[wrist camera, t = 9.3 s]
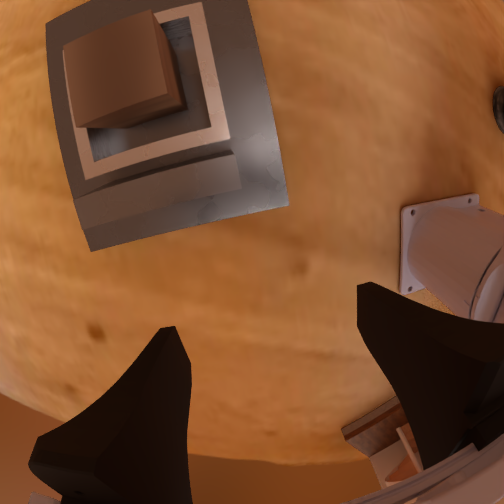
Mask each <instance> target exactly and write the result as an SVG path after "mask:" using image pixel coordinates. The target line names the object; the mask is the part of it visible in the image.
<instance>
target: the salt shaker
mask: <svg viewBox="0 0 504 504" xmlns="http://www.w3.org/2000/svg"><path fill="white" fill-rule="evenodd" d="M493 111H494V116H495V119H496V122H497V125H498V127H499V129H500V130H501V131H502V133H504V86H499V87H498V88H496V90H495V92H494V96H493Z"/></svg>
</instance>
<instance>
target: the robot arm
mask: <svg viewBox="0 0 504 504" xmlns="http://www.w3.org/2000/svg"><path fill="white" fill-rule="evenodd" d="M468 200H469V201H468ZM412 210H413V213H412V214H411V211H412ZM409 287H410V288H409ZM408 288H409V289H408ZM424 288H427V289H428V290H429V291H430V292H431V293H432V294H433V295H435V296H436V297H437V298H438V299H439V300H440V301H441V302H442V303H443V304H445V305H446V306H447V307H448V308H449V309H450V310H451V311H452V312H453V313H454V314H455V315H456V316H454V315H451V314H448V313H444V312H441V311H438V310H435V309H432V308H430V307H427V306H425V305H422V304H420V303H417V302H415V301H413V300H410V299H408V298H406V297H404V296H402V295H406V294H409V293H412V292H415V291H418V290H421V289H424ZM399 292H400V293H401V294H402V295H399V294H397V293H395V292H393V291H391V290H389V289H387V288H385V287H382V286H380V285H378V284H376V283H373V282H367V283H364V284H360V285H357V327H358V329H359V332H360V334H361V336H362V338H363V340H364V342H365V344H366V346H367V348H368V349H369V351H370V353H371V354H372V356H373V357H374V359H375V360H376V362H377V363H378V365H379V366H380V368H381V370H382V371H383V373H384V374H385V376H386V377H387V379H388V381H389V382H390V384H391V385H392V387H393V389H394V391H395V393H396V395H397V397H398V399H399V401H400V404H401V406H402V408H403V410H404V413H405V415H406V418H407V420H408V423H409V425H410V428H411V430H412V433H413V436H414V439H415V442H416V445H417V448H418V451H419V455H420V458H421V462H422V465H423V470H424V471H422V472H420V473H418V474H416V475H414V476H412V477H410V478H407V479H405V480H403V481H401V482H398V483H396V484H394V485H391V486H389V487H387V488H384V489H381V490H379V491H377V492H374V493H371V494H368V495H366V496H363V497H360V498H357V499H354V500H351V501H348V502H344V503H341V504H404V503H406V502H408V501H410V500H412V499H415V498H417V497H418V498H417V500H416V502H414V503H412V504H495V503H496V502H498V501H499V500H500V499H501V498H503V497H504V215H501V214H499V213H497V212H495V211H492V210H490V209H488V208H485V207H483V206H480V205H479V195H478V194H475V193H473V194H468V195H462V196H457V197H452V198H447V199H441V200H436V201H431V202H426V203H421V204H415V205H410V206H406V207H404V208H403V209H402V211H401V268H400V287H399ZM191 387H192V376H191V362H190V360H189V358H188V356H187V353H186V351H185V349H184V346H183V344H182V342H181V339H180V337H179V335H178V332H177V330H176V327H175V326H171V327H165V328H160V329H159V331H158V332H157V333H156V334H155V335H154V337H153V338H152V339H151V341H150V342H149V343H148V345H147V346H146V347H145V348H144V350H143V351H142V352H141V354H140V355H139V356H138V357H137V359H136V360H135V361H134V362H133V364H132V365H131V366H130V367H129V368H128V369H127V371H126V372H125V373H124V374H123V375H122V376H121V377H120V379H119V380H118V381H117V382H116V383H115V384H114V385H113V386H112V387H111V388H110V389H109V390H108V391H107V392H106V393H105V394H103V395H102V396H101V397H100V398H99V399H98V400H96V401H95V402H94V403H93V404H91V405H90V406H89V407H88V408H86V409H85V410H84V411H83V412H81V413H80V414H78V415H77V416H75V417H74V418H72V419H71V420H69V421H68V422H66V423H64V424H63V425H61V426H59V427H58V428H55V429H54V430H52V431H50V432H48V433H46V434H44V435H42V436H39V437H38V438H37V441H36V443H35V446H34V449H33V451H32V454H31V457H30V460H29V463H28V465H29V468H30V470H31V471H32V473H33V474H34V475H35V476H37V477H38V478H39V479H40V480H41V481H43V482H44V483H45V484H47V485H48V486H49V487H51V488H52V489H54V490H55V491H57V492H58V493H59V494H61V495H62V500H61V502H60V501H58V500H56V499H54V498H51V497H48V496H45V495H41V494H39V493H36V492H32V493H31V496H30V500H29V503H28V504H193V502H192V495H191V488H190V480H189V469H188V454H187V428H188V418H189V408H190V398H191Z"/></svg>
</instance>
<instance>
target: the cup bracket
mask: <svg viewBox="0 0 504 504" xmlns="http://www.w3.org/2000/svg"><path fill="white" fill-rule="evenodd" d="M150 9H151V10H152V12H153V14H154V16H155V17H156V19H157V21H158V22H159V24H160V26H161V28H162V29H163V31H164V33H165V35H166V36H167V38H168V40H169V42H170V43H171V45H172V47H173V49H174V50H175V52H176V57H177V61H178V66H179V71H180V75H181V80H182V84H183V89H184V93H185V98H186V102H187V106H188V110H185V111H182V112H178V113H175V114H171V115H168V116H164V117H161V118H158V119H155V120H152V121H148V122H145V123H142V124H139V125H136V126H134V127H131V128H128V129H119V128H76V125H75V121H74V116H73V110H72V105H71V100H70V94H69V88H68V81H67V74H66V67H65V58H64V49H63V46H64V45H66V44H68V43H70V42H72V41H74V40H76V39H78V38H80V37H82V36H84V35H86V34H88V33H90V32H93V31H95V30H97V29H99V28H102V27H104V26H106V25H109V24H111V23H114V22H116V21H119V20H121V19H124V18H126V17H129V16H132V15H135V14H138V13H141V12H144V11H147V10H150ZM46 50H47V64H48V75H49V84H50V92H51V99H52V106H53V112H54V118H55V124H56V129H57V135H58V139H59V144H60V149H61V153H62V158H63V162H64V166H65V170H66V174H67V178H68V182H69V185H70V189H71V192H72V196H73V199H74V200H73V202H74V205H75V208H76V211H77V215H78V218H79V221H80V224H81V227H82V230H83V231H84V234H85V237H86V239H87V242H88V245H89V248H90V251H91V252H93V251H96V250H100V249H104V248H108V247H111V246H115V245H119V244H123V243H127V242H131V241H134V240H138V239H142V238H146V237H150V236H154V235H159V234H163V233H167V232H171V231H175V230H179V229H183V228H188V227H192V226H196V225H201V224H205V223H209V222H214V221H218V220H223V219H227V218H232V217H236V216H241V215H246V214H250V213H255V212H260V211H265V210H269V209H274V208H279V207H284V206H289V200H288V194H287V188H286V182H285V176H284V170H283V165H282V159H281V154H280V148H279V143H278V137H277V132H276V127H275V122H274V117H273V112H272V107H271V102H270V97H269V92H268V87H267V83H266V78H265V73H264V69H263V64H262V60H261V55H260V51H259V47H258V42H257V38H256V34H255V30H254V26H253V21H252V17H251V13H250V9H249V5H248V2H247V0H91V1H89V2H87V3H84V4H82V5H80V6H78V7H76V8H74V9H72V10H70V11H68V12H66V13H64V14H62V15H60V16H58V17H57V18H55V19H53V20H51V21H49V22H48V23H46Z"/></svg>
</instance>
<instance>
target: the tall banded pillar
mask: <svg viewBox="0 0 504 504" xmlns="http://www.w3.org/2000/svg"><path fill="white" fill-rule="evenodd" d="M341 430H342V433H343V435H344V438H345V441H346V442H348V443H349V444H351V445H352V446H353V447H355V448H356V449H358V450H359V451H361V452H362V453H364V454H365V455H366V456H368V457H369V458H370V461H371V463H372V465H373V468H374V470H375V473H376V475H377V478H378V480H379V483H380V485H381V488H382V489H384V488H387V487H389V486H391V485H394V484H396V483H398V482H401V481H403V480H405V479H407V478H410V477H412V476H414V475H416V474H418V473H420V472H422V471H424V470H423V465H422V462H421V458H420V455H419V451H418V448H417V445H416V442H415V439H414V436H413V433H412V430H411V428H410V425H409V423H408V420H407V418H406V415H405V413H404V410H403V408H402V406H401V404H400V401H399V399H398V397H397V396H395V397H394V398H392V399H391V400H389V401H388V402H386V403H385V404H383V405H381V406H380V407H378V408H377V409H375V410H373V411H372V412H370V413H369V414H367V415H365V416H364V417H362V418H360V419H358V420H357V421H355V422H353V423H351V424H350V425H348V426H346V427H344V428H342V429H341ZM417 498H418V497H417ZM417 498H415V499H412V500H410V501H408V502H406V503H404V504H412V503H414V502H416V500H417Z"/></svg>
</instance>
